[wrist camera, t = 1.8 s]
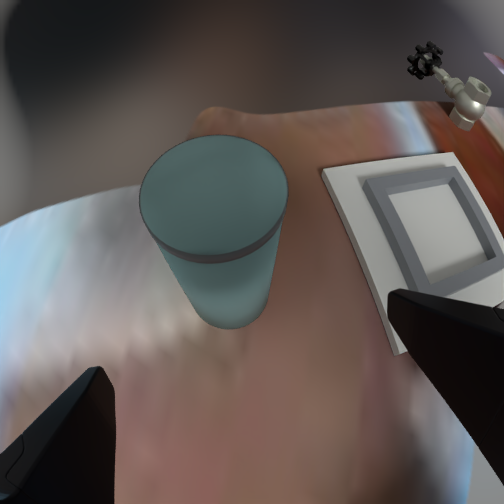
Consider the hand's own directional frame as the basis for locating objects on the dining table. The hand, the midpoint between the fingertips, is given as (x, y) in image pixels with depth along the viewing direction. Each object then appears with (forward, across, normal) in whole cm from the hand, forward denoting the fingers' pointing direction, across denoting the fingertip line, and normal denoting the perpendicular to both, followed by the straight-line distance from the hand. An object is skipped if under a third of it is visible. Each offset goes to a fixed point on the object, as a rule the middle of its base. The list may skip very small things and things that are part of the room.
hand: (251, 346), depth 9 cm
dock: (+13, -18, +5) cm, 23 cm away
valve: (+26, -33, -8) cm, 43 cm away
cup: (+13, 0, +5) cm, 14 cm away
